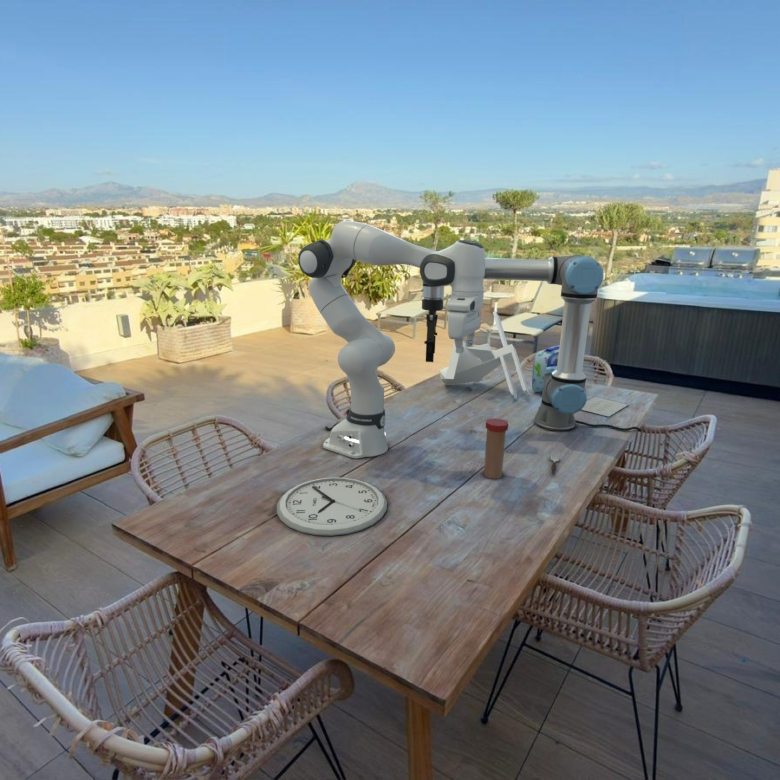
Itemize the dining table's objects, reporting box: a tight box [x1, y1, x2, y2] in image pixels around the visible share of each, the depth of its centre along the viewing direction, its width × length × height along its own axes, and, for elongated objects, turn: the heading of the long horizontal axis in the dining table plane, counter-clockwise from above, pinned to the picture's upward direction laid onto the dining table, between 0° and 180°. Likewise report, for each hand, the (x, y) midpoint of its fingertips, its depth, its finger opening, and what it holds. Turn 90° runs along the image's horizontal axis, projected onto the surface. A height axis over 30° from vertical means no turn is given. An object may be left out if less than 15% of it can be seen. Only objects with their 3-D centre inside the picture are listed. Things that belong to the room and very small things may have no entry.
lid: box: [485, 418, 509, 432], centre depth 157 cm, size 7×7×2 cm
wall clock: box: [276, 476, 388, 537], centre depth 142 cm, size 30×2×30 cm
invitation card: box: [580, 396, 629, 418], centre depth 226 cm, size 21×1×15 cm
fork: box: [550, 450, 560, 475], centre depth 169 cm, size 3×16×2 cm, turn 160°
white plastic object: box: [438, 310, 531, 400], centre depth 245 cm, size 37×45×31 cm
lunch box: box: [531, 344, 560, 393], centre depth 245 cm, size 26×11×21 cm, turn 134°
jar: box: [483, 428, 507, 480], centre depth 160 cm, size 6×6×17 cm
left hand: (464, 349), depth 149 cm, fingers open, 8 cm apart
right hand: (430, 357), depth 190 cm, fingers open, 13 cm apart
